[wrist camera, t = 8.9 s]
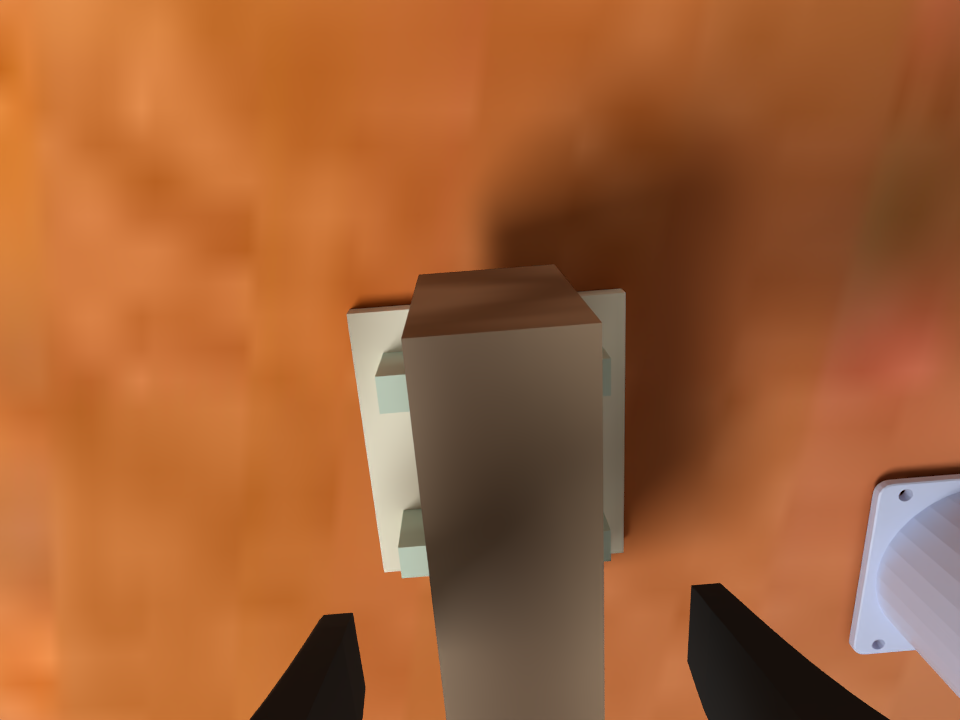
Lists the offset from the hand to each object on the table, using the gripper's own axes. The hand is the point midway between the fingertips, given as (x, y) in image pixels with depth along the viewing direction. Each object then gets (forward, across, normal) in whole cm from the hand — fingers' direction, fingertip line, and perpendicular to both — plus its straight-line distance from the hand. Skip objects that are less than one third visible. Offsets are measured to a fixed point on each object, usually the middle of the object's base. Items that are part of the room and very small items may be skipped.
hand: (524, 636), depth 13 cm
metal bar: (+7, 0, 0) cm, 7 cm away
